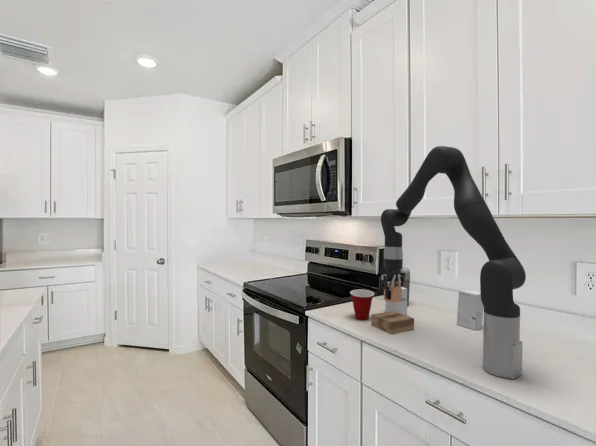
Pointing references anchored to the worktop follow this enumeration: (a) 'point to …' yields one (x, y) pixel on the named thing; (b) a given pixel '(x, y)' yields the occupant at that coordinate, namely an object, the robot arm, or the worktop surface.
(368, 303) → the plastic cup
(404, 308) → the supplement box
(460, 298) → the skincare box
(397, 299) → the terracotta block
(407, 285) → the spray can
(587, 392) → the worktop surface
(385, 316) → the walnut box
